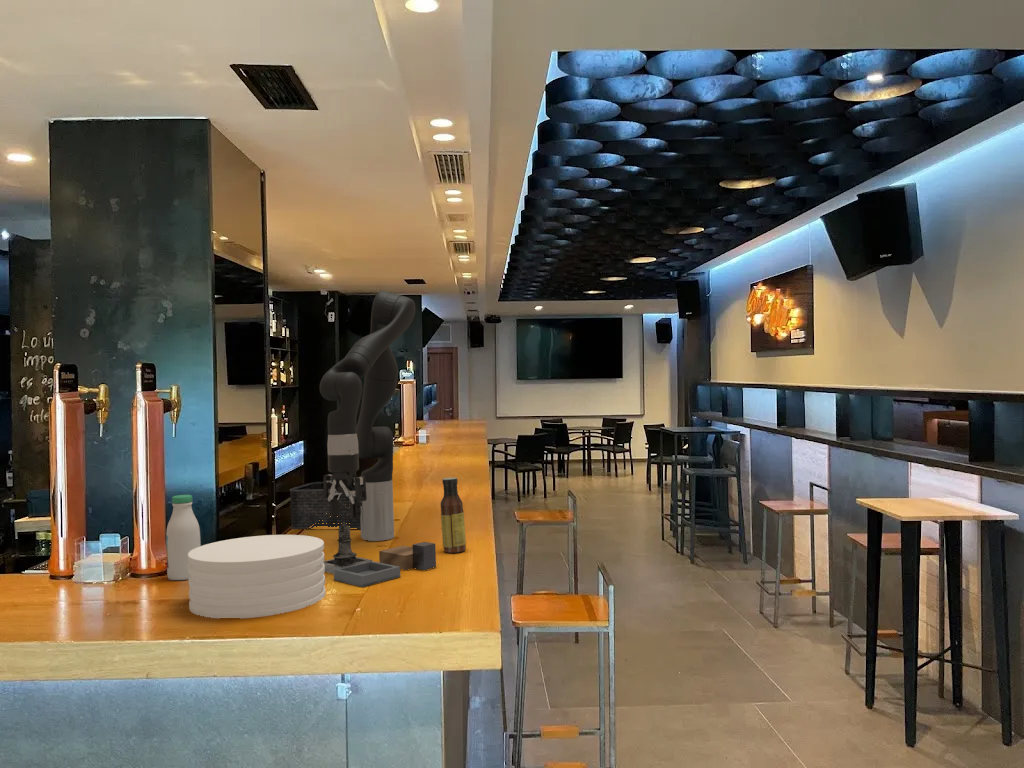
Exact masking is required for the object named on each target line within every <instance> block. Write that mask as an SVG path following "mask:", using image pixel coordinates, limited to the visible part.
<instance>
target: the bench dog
mask: <svg viewBox="0 0 1024 768" xmlns="http://www.w3.org/2000/svg"><path fill="white" fill-rule="evenodd" d="M411 547H412V548H413V568H416V569H415V570H417V569H421V570H420V571H422V570H426V571H428V570H427V569H430V568H433V567H436V568H437V555H436V554H437V553H436V551H437V550H436V543H434V542H429V541H423V542H418V543H413V544H412V546H411ZM433 569H434V568H433ZM430 570H431V569H430Z"/></svg>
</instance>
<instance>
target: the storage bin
mask: <svg viewBox="0 0 1024 768" xmlns="http://www.w3.org/2000/svg"><path fill="white" fill-rule="evenodd" d="M329 491H330V488H329V489H328V493H330V492H329ZM353 491H354V489H353ZM289 492H290V493H289V496H290V497H289V498H290V523H291V529H292V530H312V529H311V528H313V527H314V526H316V527H317V526H328V527H330V526H331V527H334V526H335V527H337V526H339V527H340V526H341V525H343V522H345V524H346V523H347V524H346V525H348V526H350V528H357V529H356V530H361V521H360V518H359V519H352V515H351V504H352V503H351V501H350V498H349V497H347V496H346V494H343V493H342V494H341V495H340V497H339V499H338V500H337V501H339V515H338V517H337V516H331V515H330V501H328V499H327V498H324V481H317V482H310V483H309V482H308V483H305V484H302V485H300V486H296V487H293V488H290V489H289ZM360 496H362V491H360ZM354 498H356V497H355V496H354ZM361 506H362V502H361ZM326 513H327V514H326ZM330 516H331V517H330ZM319 520H320V521H319ZM322 520H323V521H322ZM315 523H316V524H315ZM318 523H319V524H318ZM322 523H324V524H322ZM326 523H327V524H326ZM333 523H335V524H333ZM338 523H339V524H338ZM341 523H342V524H341ZM349 523H350V524H349ZM313 524H314V525H313ZM312 525H313V526H312ZM310 526H312V527H311V528H309V527H310ZM307 528H309V529H307Z"/></svg>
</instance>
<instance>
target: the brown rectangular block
mask: <svg viewBox="0 0 1024 768" xmlns="http://www.w3.org/2000/svg"><path fill="white" fill-rule="evenodd" d="M378 553H379V554H378V555H379V556H378V557H379V561H378V562H379V563H384V564H389V565H394V566H399V567H400V569H403V570H402V571H404V570H407V571H409V570H408V569H411V568H413V548H412V546H407V545H400V546H395V547H391V548H386V549H382V550H379V551H378ZM411 570H412V569H411Z"/></svg>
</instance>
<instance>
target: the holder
mask: <svg viewBox="0 0 1024 768" xmlns="http://www.w3.org/2000/svg"><path fill="white" fill-rule="evenodd" d="M368 561H373V559H369V558H363V557H359V556H356V559H355V562H354V563H353V564H349V565H344V566H340V565H337V564H336V562H335V560H334V558H331V559H327V560H324V562H323V563H324V565H325V572H324V573H327V572H328V573H327V574H331V573H332V574H333V575H334V570H335V569H339V568H343V567H347V566H351V565H356V564H360V563H364V562H368Z"/></svg>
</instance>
